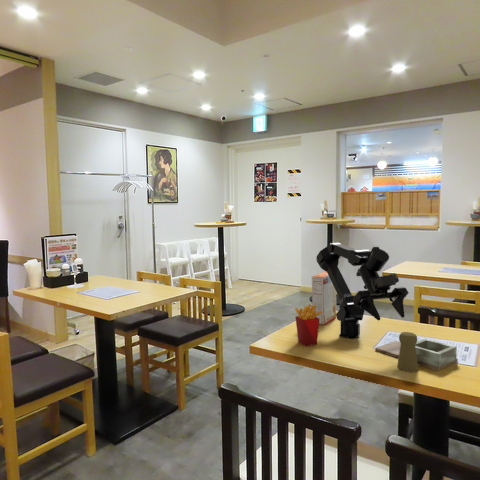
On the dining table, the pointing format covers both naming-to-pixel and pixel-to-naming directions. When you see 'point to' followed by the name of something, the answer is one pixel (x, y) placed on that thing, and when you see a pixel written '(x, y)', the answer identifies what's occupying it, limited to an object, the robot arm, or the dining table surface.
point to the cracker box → (324, 297)
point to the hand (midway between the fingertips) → (391, 318)
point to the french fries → (307, 325)
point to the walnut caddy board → (425, 353)
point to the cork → (407, 352)
